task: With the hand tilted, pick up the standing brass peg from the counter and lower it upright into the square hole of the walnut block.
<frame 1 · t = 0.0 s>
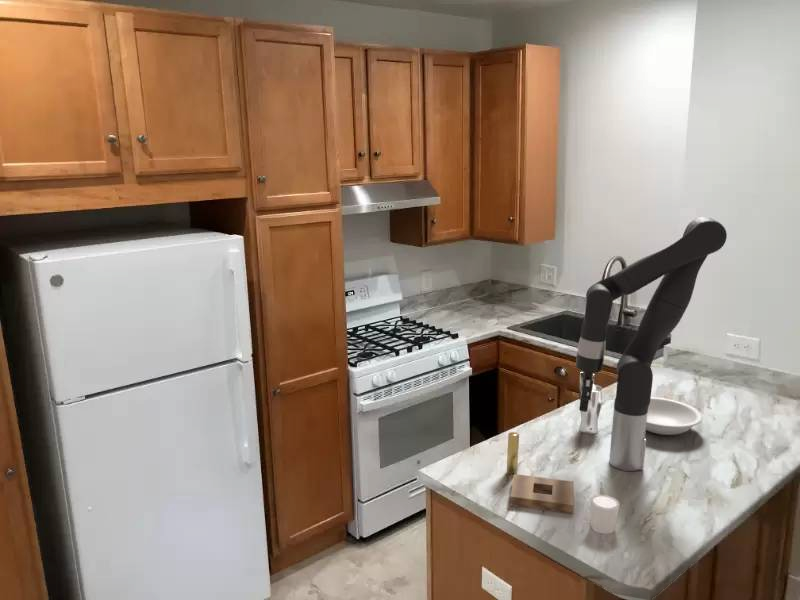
hand: (582, 405, 186), 17 cm above the counter, tool pointing down, fingers open, 8 cm apart
shot glass: (602, 527, 156), on the counter
block: (542, 497, 169), on the counter
beer glass: (588, 430, 209), on the counter
peg: (511, 473, 182), on the counter
soup bowl: (660, 429, 210), on the counter
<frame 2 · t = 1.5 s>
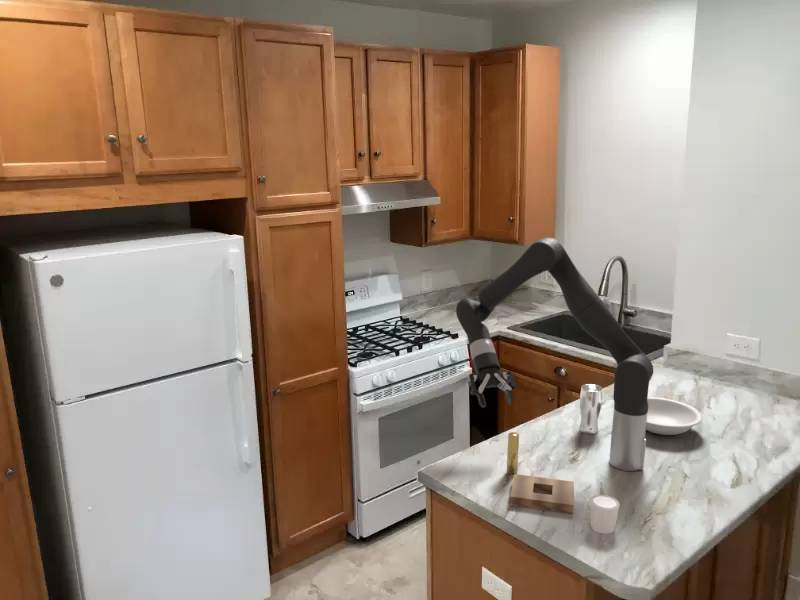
hand: (497, 405, 189), 16 cm above the counter, tool tilted 45°, fingers open, 8 cm apart
nothing on the counter moved.
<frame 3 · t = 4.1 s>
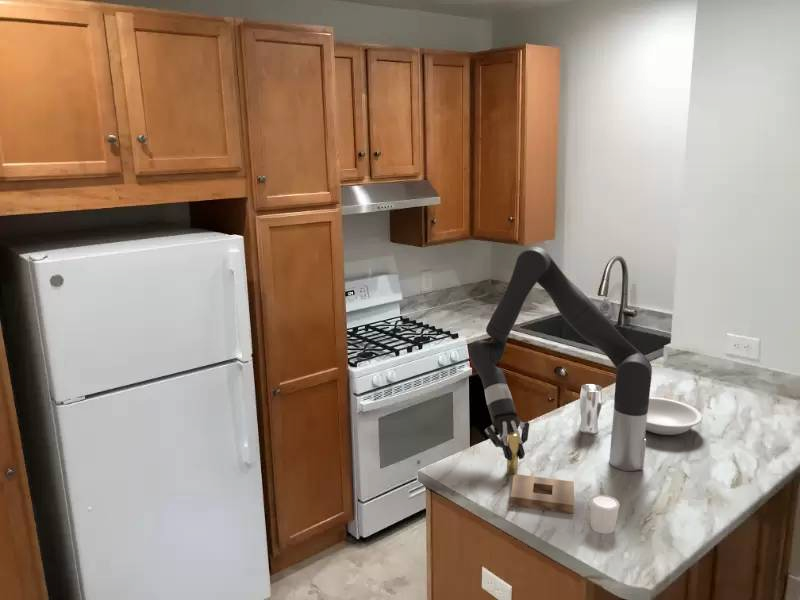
hand: (515, 458, 179), 5 cm above the counter, tool tilted 45°, fingers closed on peg, 3 cm apart
peg: (511, 473, 182), on the counter, touching gripper
everything else where it was.
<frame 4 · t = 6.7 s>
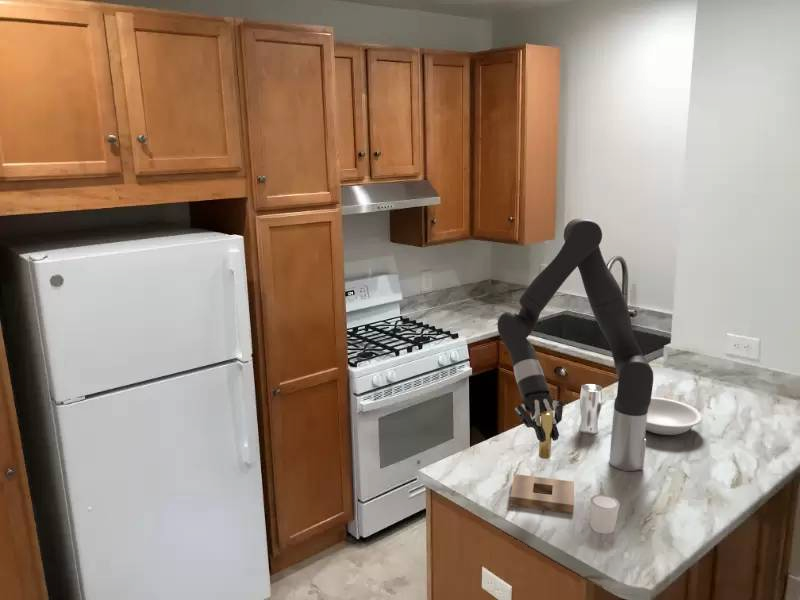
hand: (549, 440, 163), 18 cm above the counter, tool tilted 45°, fingers closed on peg, 3 cm apart
peg: (544, 456, 166), point 12 cm above the counter, touching gripper
everything else where it was.
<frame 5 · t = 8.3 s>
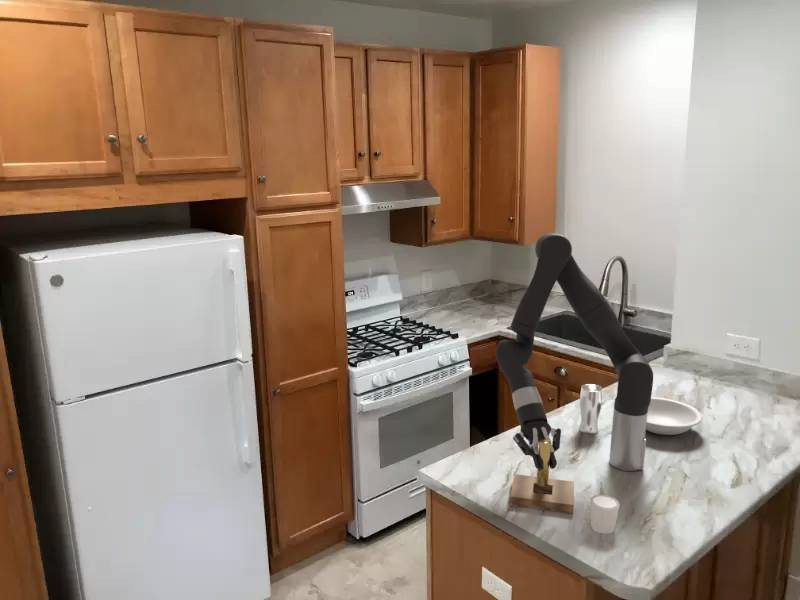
hand: (547, 468, 165), 10 cm above the counter, tool tilted 45°, fingers closed on peg, 3 cm apart
peg: (542, 483, 168), point 4 cm above the counter, touching gripper
everything else where it was.
when the fingers open (7 cm above the counter, at t = 9.3 s): peg drops 1 cm, resting in block.
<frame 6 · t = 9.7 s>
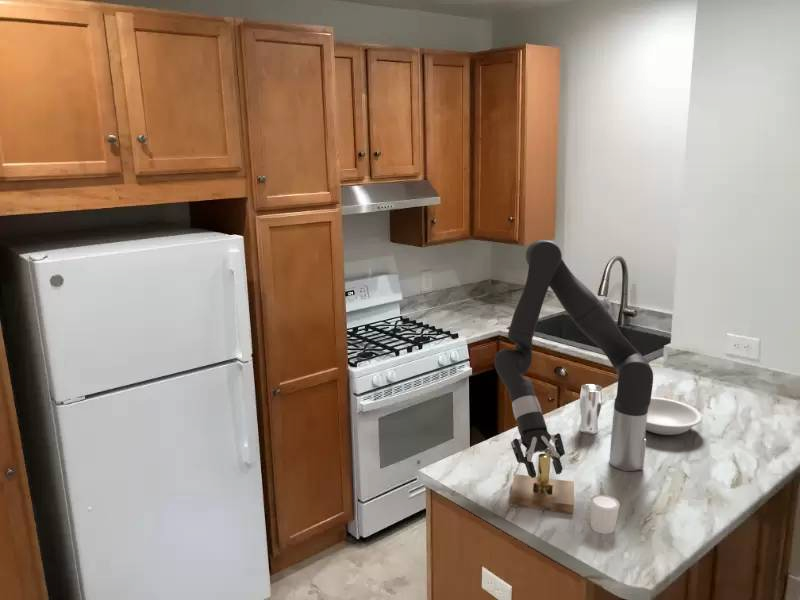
hand: (546, 475, 166), 7 cm above the counter, tool tilted 45°, fingers open, 6 cm apart
peg: (542, 497, 169), resting in block
everything else where it was.
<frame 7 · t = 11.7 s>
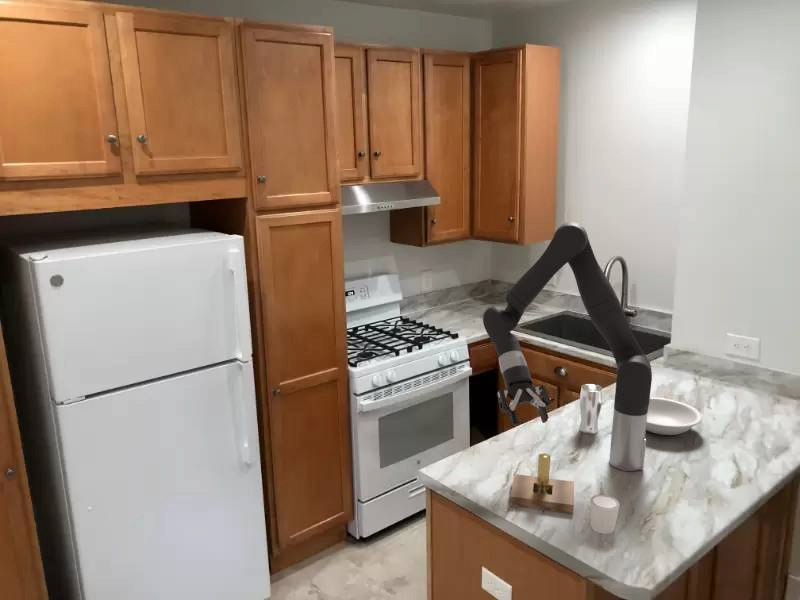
hand: (531, 423, 173), 18 cm above the counter, tool tilted 45°, fingers open, 8 cm apart
nothing on the counter moved.
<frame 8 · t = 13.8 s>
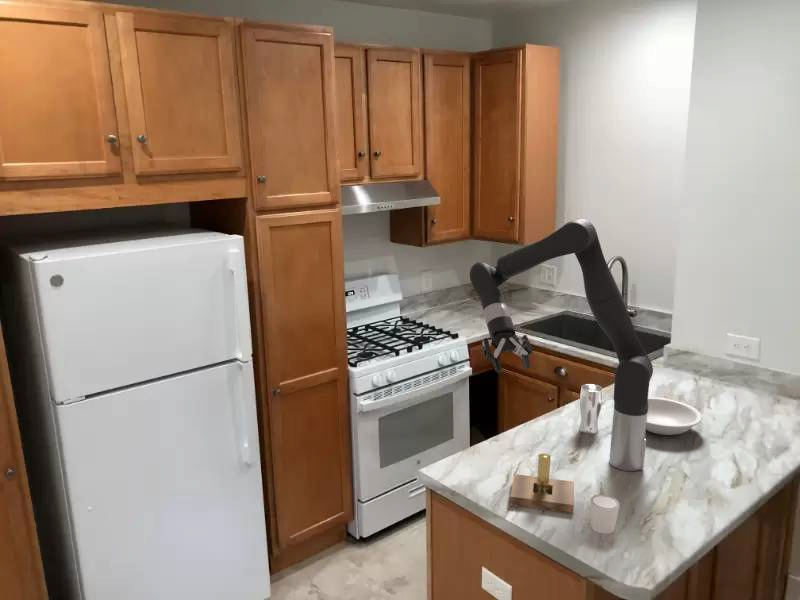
hand: (513, 370, 182), 29 cm above the counter, tool tilted 45°, fingers open, 8 cm apart
nothing on the counter moved.
at the end: peg 0.1 cm off-centre on the block, point 0.0 cm above the block's base; peg tilted 0°; the gripper is holding nothing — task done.
